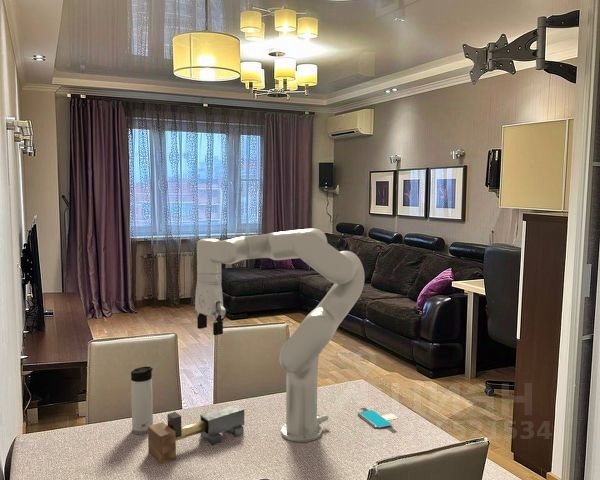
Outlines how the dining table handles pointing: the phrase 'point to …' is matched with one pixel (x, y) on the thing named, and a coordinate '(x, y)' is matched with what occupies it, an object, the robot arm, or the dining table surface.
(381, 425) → the cyan and grey device
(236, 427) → the metal sleeve
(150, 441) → the walnut socket
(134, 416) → the travel mug
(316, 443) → the dining table surface
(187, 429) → the brass rod
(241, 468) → the dining table surface
